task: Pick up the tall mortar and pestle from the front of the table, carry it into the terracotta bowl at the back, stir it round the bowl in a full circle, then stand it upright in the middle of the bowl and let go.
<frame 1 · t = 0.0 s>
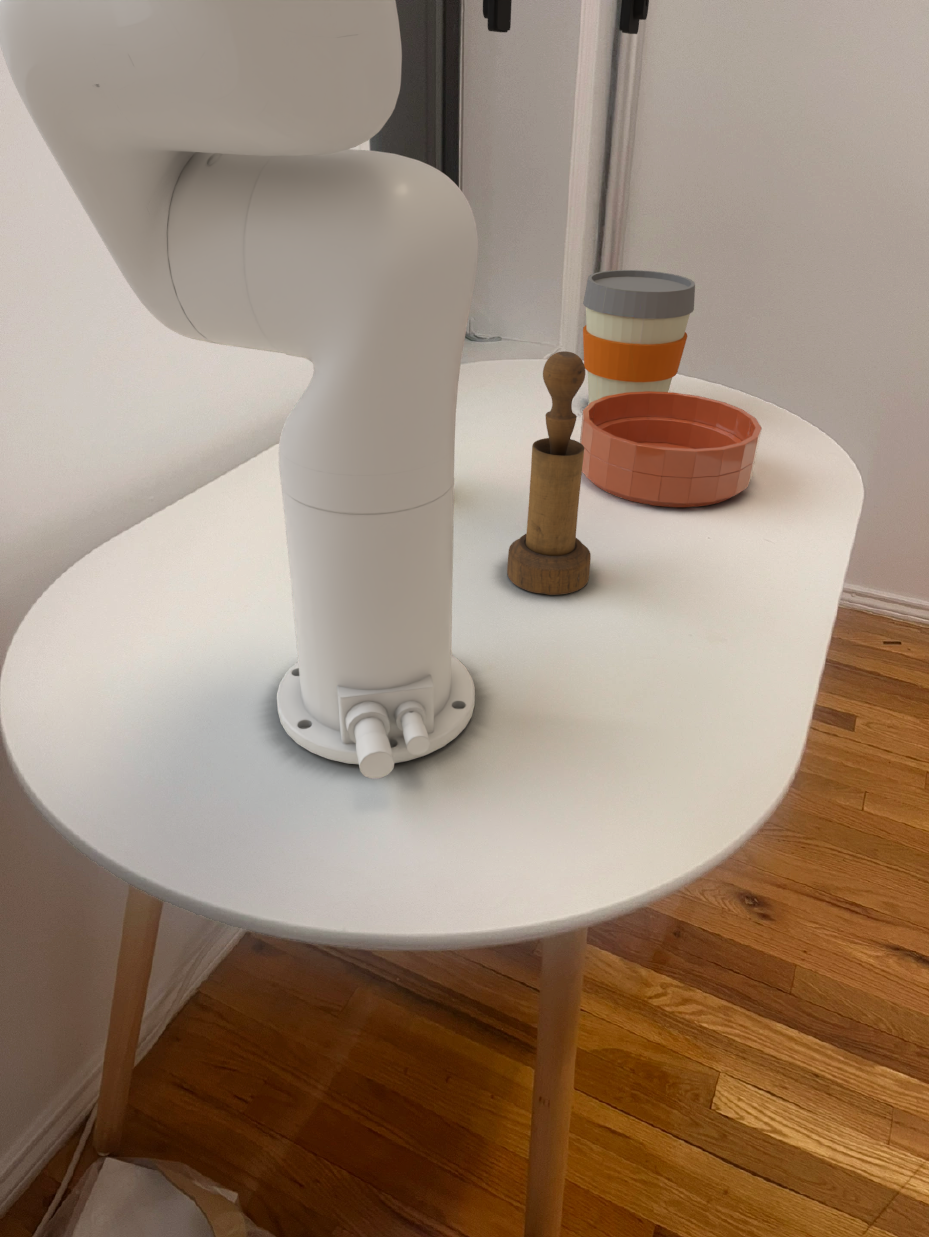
hand: (562, 32, 63), 37 cm above the table, tool pointing down, fingers open, 9 cm apart
reusable coffee cup: (625, 411, 108), on the table
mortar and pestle: (547, 578, 72), on the table
bowl: (662, 475, 90), on the table
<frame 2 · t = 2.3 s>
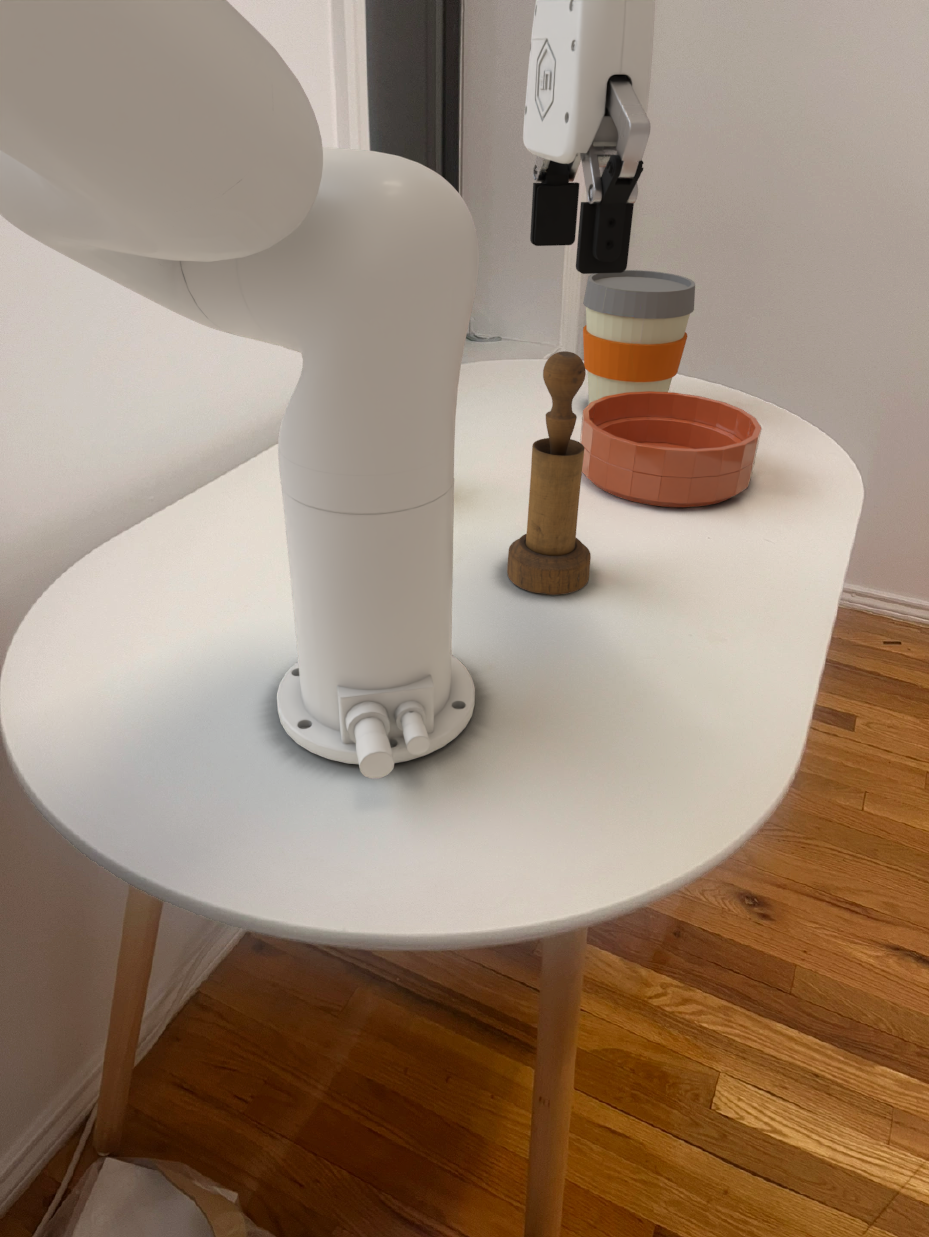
hand: (574, 257, 59), 24 cm above the table, tool pointing down, fingers open, 9 cm apart
nothing on the table moved.
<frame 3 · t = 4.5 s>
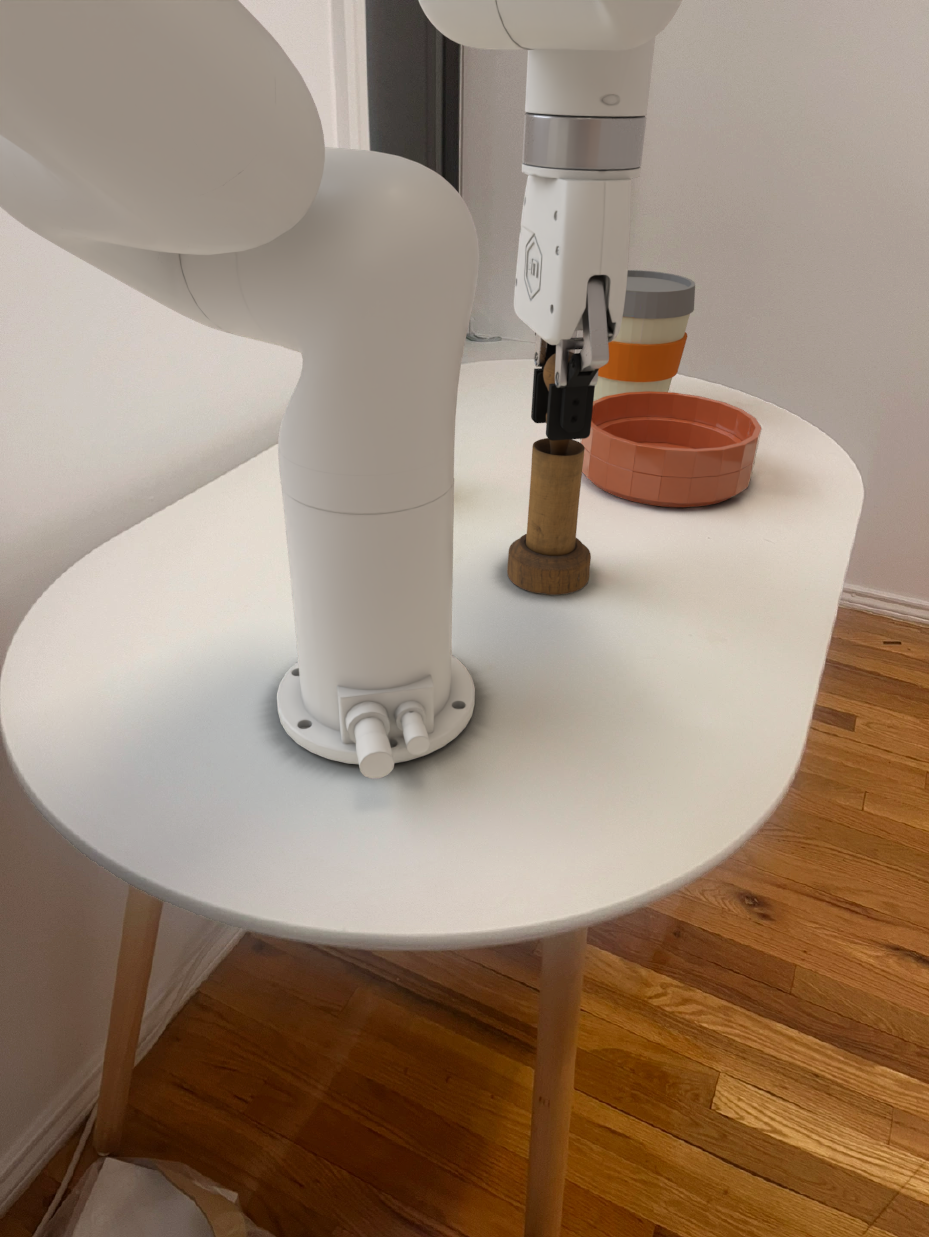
hand: (559, 427, 65), 13 cm above the table, tool pointing down, fingers closed on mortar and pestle, 2 cm apart
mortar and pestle: (547, 578, 72), on the table, touching gripper
everything else where it was.
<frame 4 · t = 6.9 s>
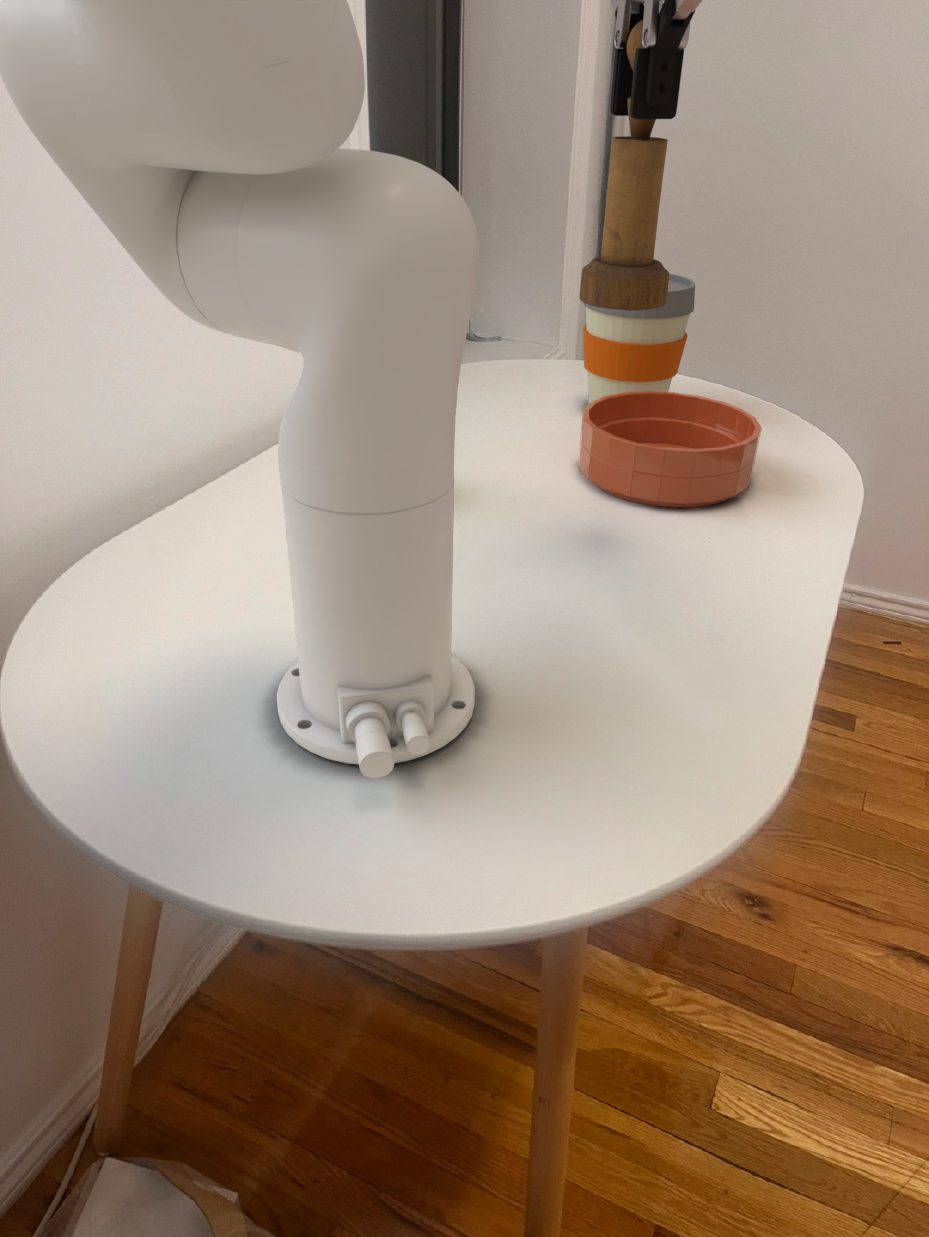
hand: (642, 114, 61), 33 cm above the table, tool pointing down, fingers closed on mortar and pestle, 2 cm apart
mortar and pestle: (622, 304, 68), point 20 cm above the table, touching gripper
everything else where it was.
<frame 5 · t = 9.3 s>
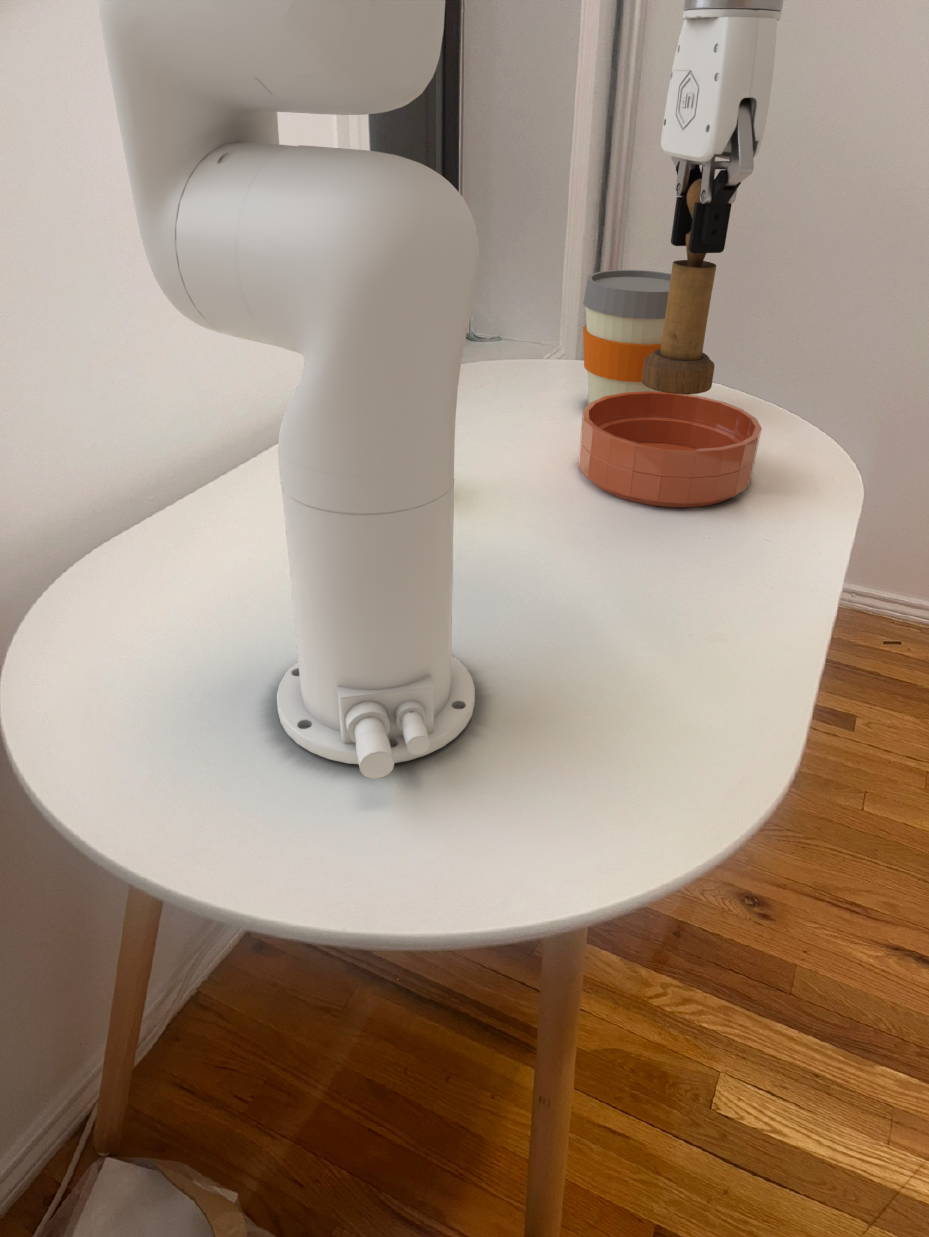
hand: (696, 246, 79), 22 cm above the table, tool pointing down, fingers closed on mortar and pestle, 2 cm apart
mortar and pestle: (675, 387, 86), point 9 cm above the table, touching gripper
everything else where it was.
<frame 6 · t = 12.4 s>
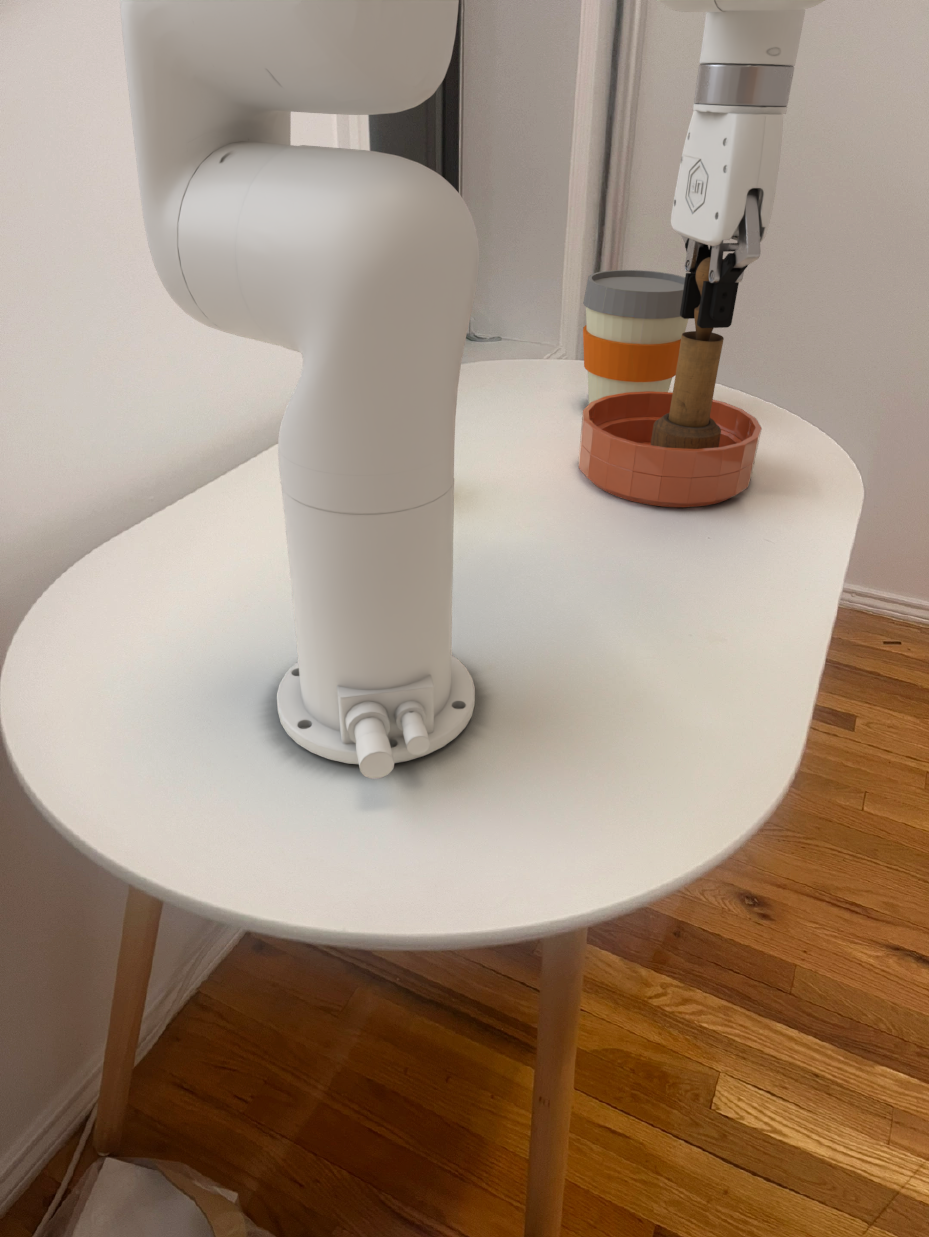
hand: (704, 320, 82), 16 cm above the table, tool pointing down, fingers closed on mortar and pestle, 2 cm apart
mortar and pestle: (683, 450, 89), point 3 cm above the table, touching gripper
everything else where it was.
when the fingers open (13 cm above the table, at t = 14.6 s): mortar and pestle stays where it is, resting on bowl.
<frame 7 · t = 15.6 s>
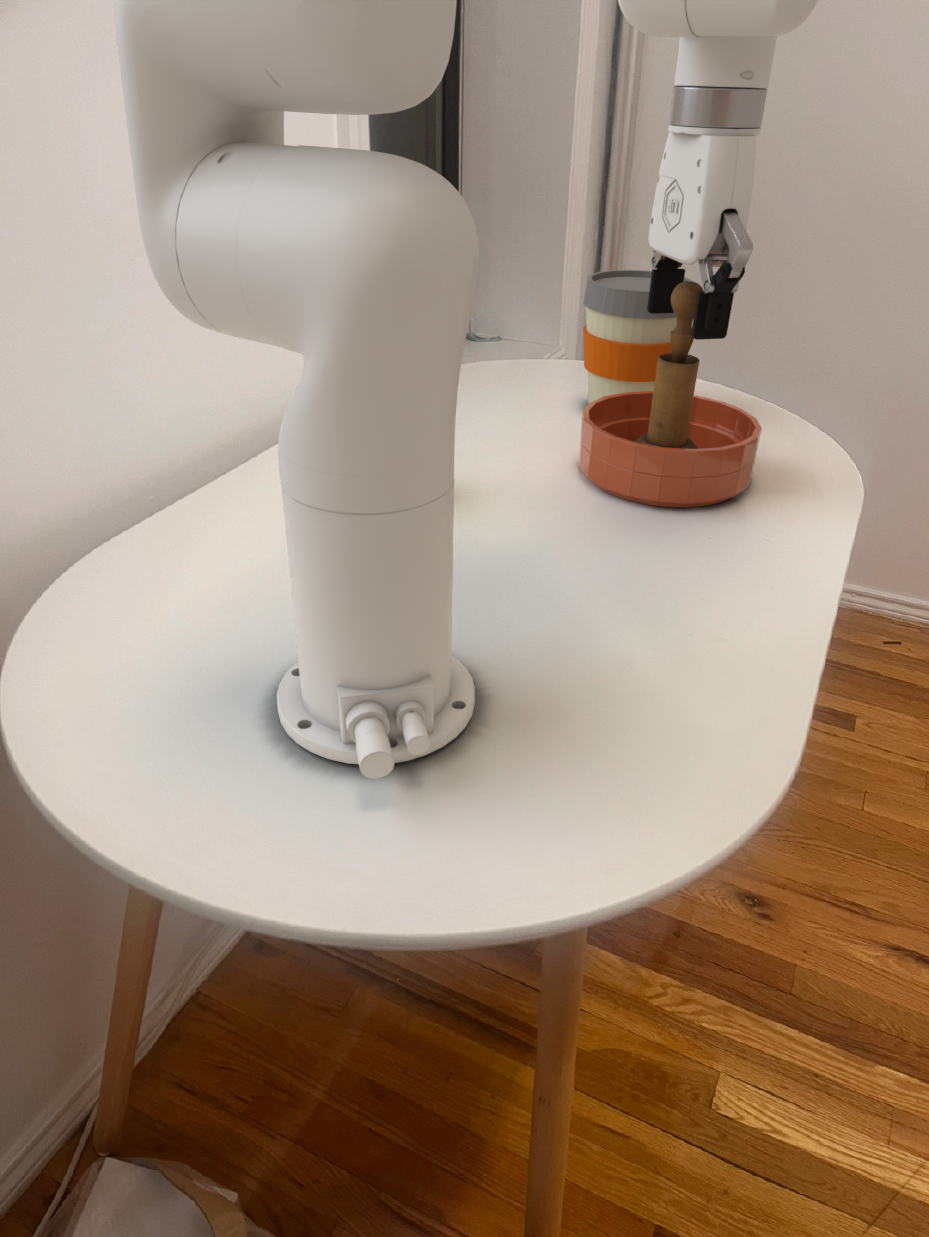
hand: (684, 324, 82), 15 cm above the table, tool pointing down, fingers open, 9 cm apart
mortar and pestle: (662, 469, 90), point 1 cm above the table, touching bowl
everything else where it was.
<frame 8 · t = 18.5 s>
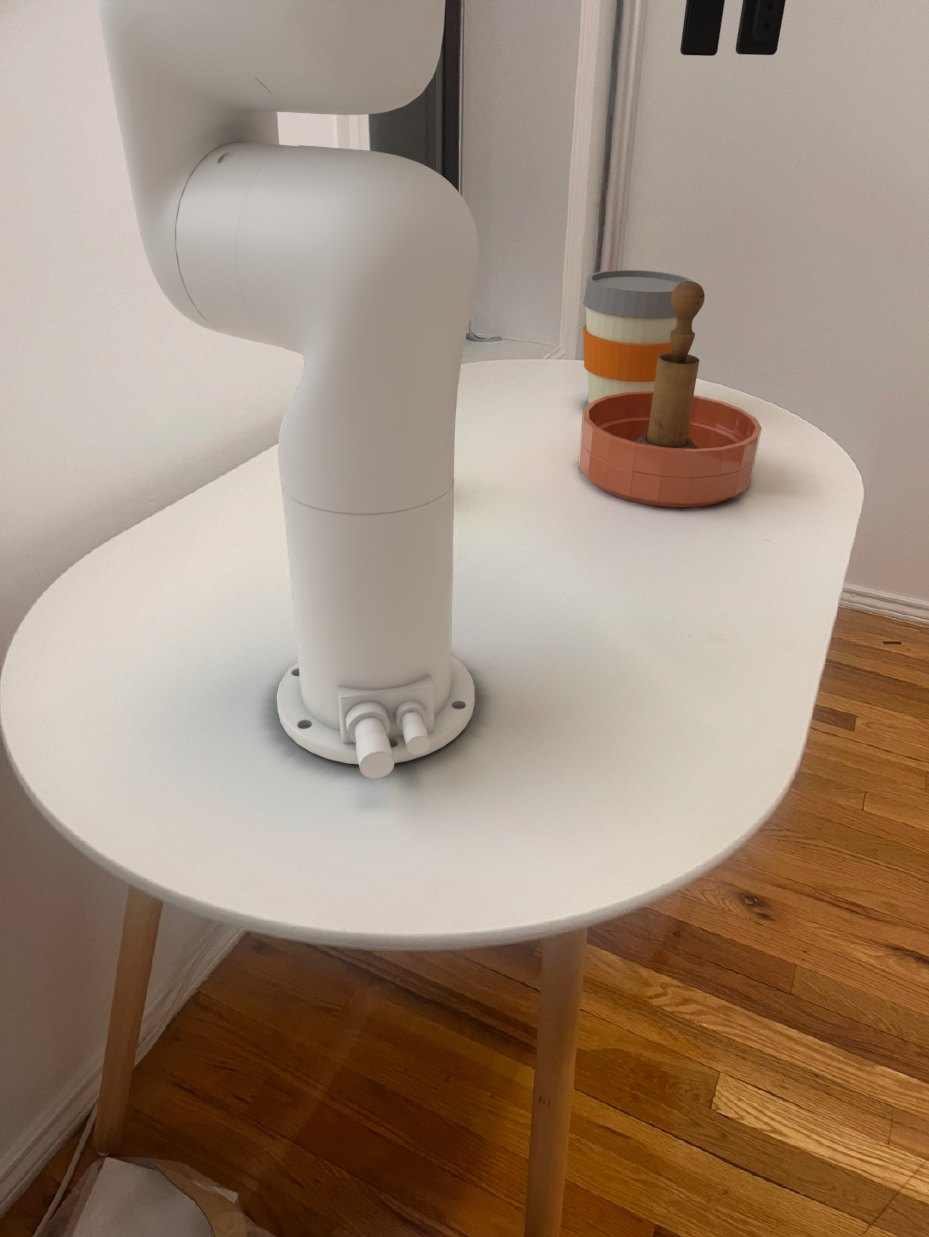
hand: (725, 55, 71), 36 cm above the table, tool pointing down, fingers open, 9 cm apart
nothing on the table moved.
at the end: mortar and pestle inside the target area in the bowl (0.1 cm from its centre), point 0.6 cm above the bowl's base; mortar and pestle tilted 0°; the gripper is holding nothing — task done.
